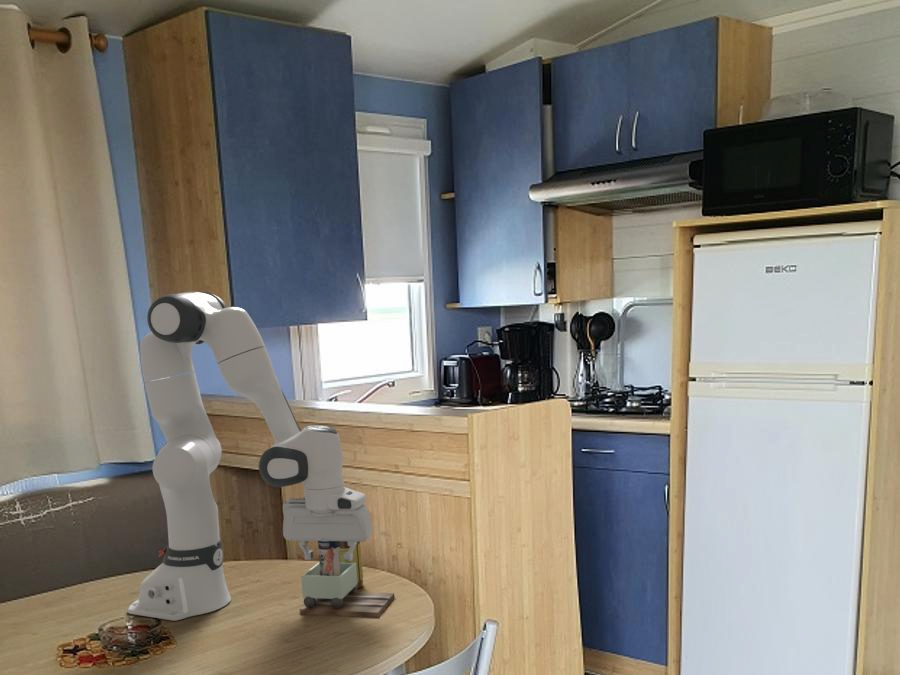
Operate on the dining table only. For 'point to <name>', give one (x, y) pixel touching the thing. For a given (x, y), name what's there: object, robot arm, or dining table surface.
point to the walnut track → (352, 605)
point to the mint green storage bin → (329, 585)
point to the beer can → (329, 557)
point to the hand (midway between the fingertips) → (328, 559)
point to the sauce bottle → (356, 559)
